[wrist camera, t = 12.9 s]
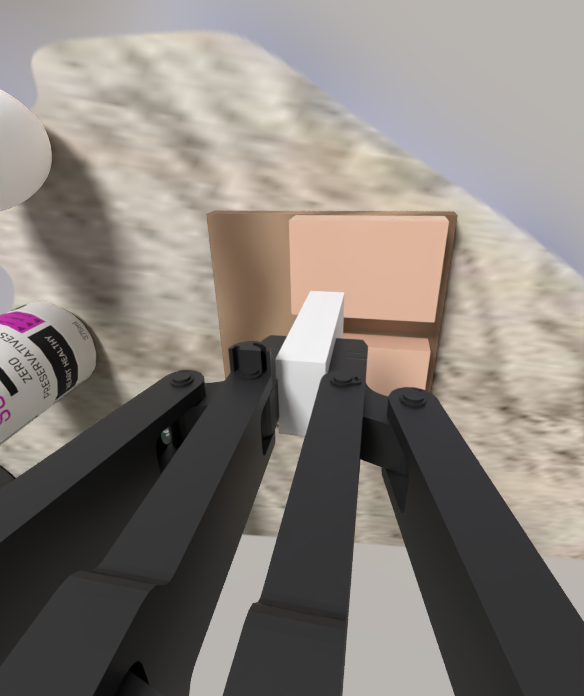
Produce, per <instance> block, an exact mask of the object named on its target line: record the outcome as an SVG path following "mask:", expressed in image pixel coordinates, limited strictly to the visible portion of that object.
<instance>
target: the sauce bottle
mask: <svg viewBox="0 0 584 696" xmlns="http://www.w3.org/2000/svg"><path fill="white" fill-rule="evenodd" d="M51 163H52V152H51V145H50V141H49V138H48V135H47V133H46V131H45V128H44V127H43V125H42V124H41V122H40V121H39V120H38V119H37V117H36V116H35V115H34V114H33V113H32V112H31V111H30V110H29V109H27V108H26V107H25V106H24V105H22V104H21V103H20V102H19V101H18V100H16V99H15V98H14V97H12V96H11V95H9V94H7V93H6V92H4V91H2V90H1V89H0V211H2V210H6V209H9V208H11V207H14V206H16V205H19V204H21V203H22V202H24V201H26V200H27V199H28V198H30V197H31V196H32V195H33V194H34V193H36V192H37V191H38V190H39V189H40V187H41V186H42V185H43V183H44V182H45V180H46V179H47V177H48V175H49V172H50V168H51Z"/></svg>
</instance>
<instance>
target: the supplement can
mask: <svg viewBox="0 0 584 696" xmlns="http://www.w3.org/2000/svg"><path fill="white" fill-rule="evenodd" d="M95 367H96V351H95V346H94V343H93V340H92V336H91V335H90V333H89V332H88V330H87V329H86V327H85V326H84V324H83V323H82V322H81V321H80V320H79V319H77V318H76V317H75V316H74V315H73V314H72V313H70V312H68V311H66V310H64V309H62V308H60V307H59V306H57V305H55V304H51V303H46V302H41V301H38V302H33V303H29V304H25V305H23V306H21V307H18V308H16V309H14V310H12V311H9V312H7V313H5V314H2V315H0V445H1V444H3V443H4V442H5V441H6V440H8V439H9V438H10V437H12V436H13V435H14V434H16V433H17V432H18V431H20V430H21V429H22V428H23V427H25V426H26V425H27V424H29V423H30V422H31V421H33V420H34V419H35V418H37V417H38V416H39V415H40V414H42V413H43V412H44V411H46V410H47V409H48V408H50V407H51V406H52V405H54V404H55V403H56V402H57V401H59V400H60V399H61V398H63V397H64V396H65V395H67V394H68V393H69V392H71V391H72V390H73V389H74V388H76V387H77V386H78V385H80V384H81V383H82V382H84V381H85V380H86V379H88V378H89V377H90V376H91V374H92V372H93V370H94V369H95Z"/></svg>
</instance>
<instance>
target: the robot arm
mask: <svg viewBox="0 0 584 696" xmlns="http://www.w3.org/2000/svg"><path fill="white" fill-rule="evenodd" d="M344 293H345V292H324V291H310V293H309V295H308V297H307V299H306V301H305V302H304V304H303V306H302V308H301V310H300V312H299V314H298V316H297V318H296V320H295V322H294V324H293V326H292V328H291V330H290V332H289V334H288V336H278V335H270V336H268V337H267V338H265V339H264V340H262V341H261V342H259V341H245V342H239V343H237V344H234V345H232V346H231V347H230V348H228V352H229V362H230V371H231V372H230V374H229V375H228V377H227V378H226V380H225V381H222V382H214V383H205V382H204V376H203V375H202V374H201V373H199V372H197V371H191V370H184V371H183V370H180V371H178V372H174V373H171V374H169V375H167V376H165V377H164V378H162V379H161V380H159V381H158V382H156V383H155V384H154V385H152V386H151V387H149V388H148V389H146V390H145V391H143V392H142V393H140V394H139V395H137V396H136V397H135V398H133V399H132V400H130V401H129V402H127V403H126V404H124V405H123V406H121V407H120V408H118V409H117V410H115V411H114V412H113V413H111V414H110V415H108V416H107V417H105V418H104V419H102V420H101V421H99V422H98V423H96V424H95V425H94V426H92V427H91V428H89V429H88V430H86V431H85V432H83V433H82V434H80V435H79V436H77V437H76V438H74V439H73V440H72V441H70V442H69V443H67V444H66V445H64V446H63V447H61V448H60V449H58V450H57V451H55V452H54V453H53V454H51V455H50V456H48V457H47V458H45V459H44V460H42V461H41V462H39V463H38V464H36V465H35V466H33V467H32V468H31V469H29V470H28V471H26V472H25V473H23V474H22V475H20V476H19V477H17V478H16V479H14V478H13V477H12V476H11V475H10V474H9V473H7V472H6V471H5V470H4V469H2V468H1V467H0V696H189V691H190V681H191V677H192V673H193V669H194V666H195V663H196V660H197V657H198V655H199V652H200V649H201V646H202V643H203V641H204V638H205V635H206V632H207V630H208V627H209V624H210V621H211V619H212V616H213V613H214V610H215V608H216V605H217V602H218V599H219V597H220V594H221V591H222V588H223V585H224V583H225V580H226V577H227V575H228V571H229V569H230V566H231V564H232V561H233V558H234V555H235V552H236V550H237V547H238V544H239V541H240V538H241V536H242V533H243V530H244V528H245V525H246V522H247V519H248V517H249V514H250V511H251V508H252V506H253V503H254V500H255V497H256V495H257V492H258V489H259V486H260V484H261V481H262V478H263V475H264V472H265V470H266V467H267V464H268V461H269V459H270V456H271V453H272V450H273V448H274V445H275V428H276V425H277V422H278V426H279V433H280V434H289V435H298V436H305V439H304V442H303V446H302V449H301V453H300V457H299V460H298V464H297V468H296V471H295V475H294V478H293V482H292V486H291V489H290V493H289V497H288V500H287V504H286V508H285V511H284V515H283V518H282V522H281V526H280V529H279V533H278V537H277V540H276V544H275V548H274V551H273V555H272V558H271V562H270V566H269V569H268V573H267V577H266V580H265V584H264V587H263V591H262V594H261V597H260V599H259V601H258V602H256V603H253V604H252V606H251V607H250V609H249V611H248V614H247V617H246V620H245V622H244V625H243V629H242V632H241V636H240V639H239V642H238V645H237V649H236V652H235V656H234V659H233V662H232V666H231V669H230V672H229V676H228V679H227V683H226V686H225V689H224V693H223V696H342V692H343V679H344V678H343V677H344V665H345V652H346V638H347V626H348V612H349V599H350V587H351V572H352V561H353V547H354V535H355V522H356V509H357V496H358V483H359V472H360V459H361V460H364V461H367V462H369V463H372V464H375V465H377V466H380V467H382V476H383V479H384V482H385V485H386V488H387V491H388V495H389V498H390V501H391V504H392V507H393V510H394V513H395V516H396V519H397V522H398V525H399V528H400V531H401V534H402V537H403V540H404V543H405V546H406V549H407V552H408V555H409V558H410V561H411V564H412V567H413V570H414V573H415V576H416V579H417V582H418V585H419V588H420V591H421V594H422V597H423V600H424V603H425V607H426V609H427V613H428V615H429V618H430V622H431V625H432V628H433V631H434V634H435V637H436V640H437V643H438V645H439V649H440V652H441V655H442V658H443V660H444V664H445V667H446V670H447V673H448V676H449V679H450V682H451V685H452V688H453V691H454V694H455V696H584V621H583V620H582V618H581V617H580V615H579V614H578V612H577V611H576V609H575V608H574V606H573V605H572V603H571V602H570V600H569V599H568V597H567V596H566V594H565V593H564V591H563V589H562V588H561V586H560V585H559V583H558V582H557V580H556V579H555V577H554V576H553V574H552V573H551V571H550V570H549V569H548V567H547V565H546V564H545V562H544V561H543V559H542V558H541V556H540V554H539V553H538V551H537V550H536V548H535V547H534V545H533V544H532V542H531V541H530V539H529V538H528V536H527V535H526V533H525V532H524V530H523V529H522V527H521V526H520V524H519V523H518V521H517V519H516V518H515V516H514V515H513V513H512V512H511V510H510V509H509V507H508V506H507V504H506V503H505V501H504V500H503V498H502V497H501V495H500V494H499V492H498V491H497V489H496V488H495V486H494V484H493V483H492V481H491V480H490V478H489V477H488V475H487V474H486V472H485V471H484V469H483V468H482V466H481V465H480V463H479V462H478V460H477V459H476V457H475V456H474V454H473V453H472V451H471V449H470V448H469V446H468V445H467V443H466V442H465V440H464V439H463V437H462V436H461V434H460V433H459V431H458V430H457V428H456V427H455V425H454V424H453V422H452V421H451V419H450V418H449V416H448V415H447V413H446V411H445V410H444V408H443V407H442V405H441V404H440V402H439V401H438V399H437V398H436V397H435V396H434V395H433V394H431V393H430V392H428V391H426V390H423V389H420V388H416V387H403V388H397V389H395V390H393V391H391V393H390V394H389V396H385V395H382V394H379V393H377V392H375V391H373V390H372V389H370V388H369V387H368V385H367V384H366V372H367V356H368V345H367V344H366V343H365V342H364V340H359V339H343V322H344ZM167 428H168V430H169V435H170V437H169V438H168V439H167V440H166V441H164V442H163V441H162V437H161V433H162V432H163V431H164V430H166V429H167Z"/></svg>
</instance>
